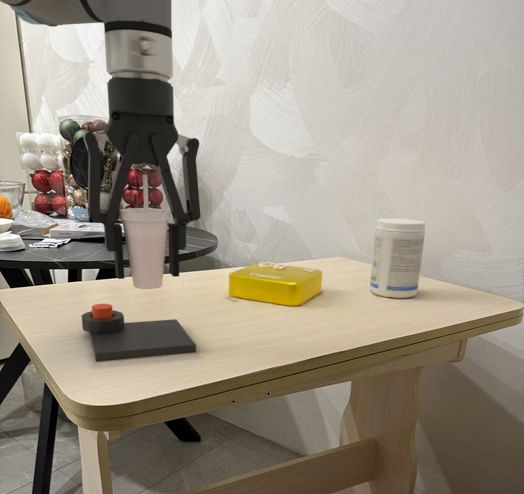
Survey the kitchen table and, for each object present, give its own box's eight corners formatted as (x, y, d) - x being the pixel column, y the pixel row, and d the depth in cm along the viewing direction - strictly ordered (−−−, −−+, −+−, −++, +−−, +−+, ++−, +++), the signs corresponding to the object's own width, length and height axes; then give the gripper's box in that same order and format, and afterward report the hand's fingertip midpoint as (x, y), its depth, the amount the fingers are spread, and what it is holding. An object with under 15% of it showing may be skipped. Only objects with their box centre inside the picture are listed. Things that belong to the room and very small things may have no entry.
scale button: (93, 321, 73) (92, 309, 72) (91, 315, 75) (91, 304, 75) (114, 320, 74) (113, 308, 73) (111, 314, 76) (111, 302, 76)
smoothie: (177, 281, 72) (175, 174, 67) (164, 293, 66) (161, 176, 61) (132, 279, 72) (127, 172, 67) (115, 289, 66) (108, 174, 61)
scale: (88, 363, 65) (87, 340, 64) (82, 330, 77) (80, 311, 76) (196, 352, 70) (196, 331, 69) (174, 323, 82) (174, 305, 81)
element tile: (224, 296, 99) (225, 271, 98) (257, 281, 112) (258, 259, 111) (298, 307, 94) (299, 281, 92) (323, 291, 107) (325, 267, 105)
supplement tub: (423, 293, 108) (434, 221, 103) (406, 302, 101) (417, 224, 96) (380, 285, 113) (388, 216, 108) (360, 293, 106) (368, 219, 101)
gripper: (51, 66, 54) (70, 285, 62) (229, 83, 61) (226, 278, 69) (50, 75, 60) (68, 272, 68) (211, 90, 67) (210, 267, 75)
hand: (147, 275), depth 68 cm, fingers closed on smoothie, 6 cm apart
